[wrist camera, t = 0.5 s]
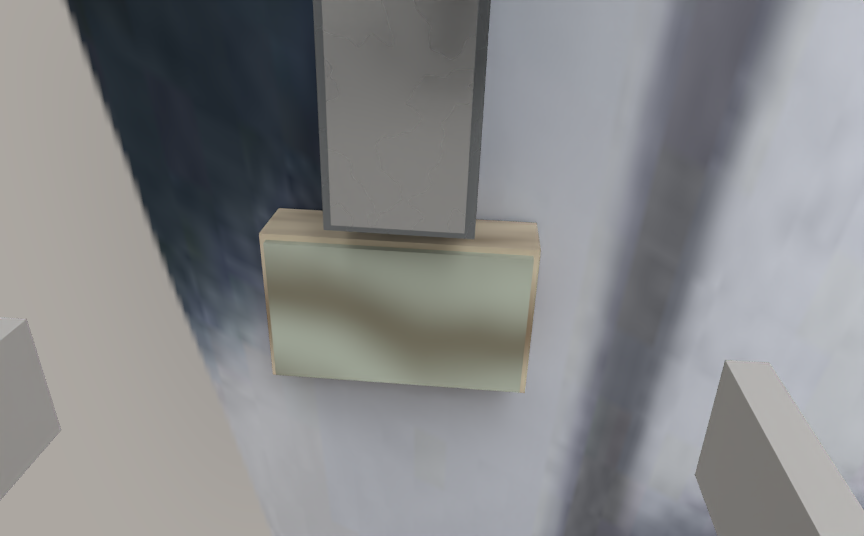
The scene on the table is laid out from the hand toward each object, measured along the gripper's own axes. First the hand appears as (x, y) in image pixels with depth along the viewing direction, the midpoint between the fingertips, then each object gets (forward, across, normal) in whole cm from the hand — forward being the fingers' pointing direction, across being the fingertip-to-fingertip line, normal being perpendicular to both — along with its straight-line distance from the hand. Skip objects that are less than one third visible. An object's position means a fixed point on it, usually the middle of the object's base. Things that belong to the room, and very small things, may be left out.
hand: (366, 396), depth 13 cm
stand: (+20, -2, -9) cm, 22 cm away
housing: (+21, -1, +2) cm, 21 cm away
